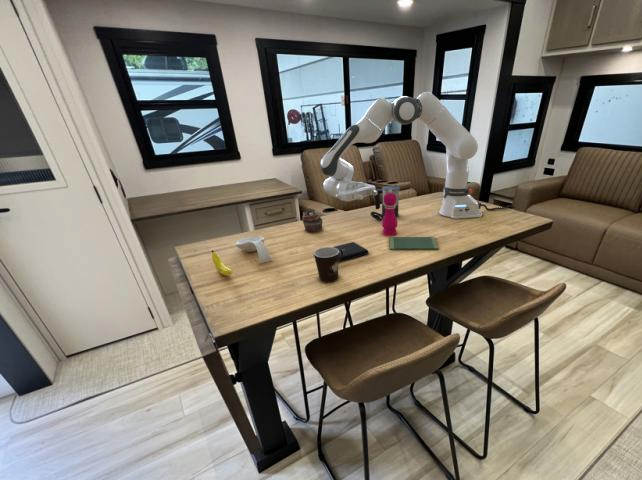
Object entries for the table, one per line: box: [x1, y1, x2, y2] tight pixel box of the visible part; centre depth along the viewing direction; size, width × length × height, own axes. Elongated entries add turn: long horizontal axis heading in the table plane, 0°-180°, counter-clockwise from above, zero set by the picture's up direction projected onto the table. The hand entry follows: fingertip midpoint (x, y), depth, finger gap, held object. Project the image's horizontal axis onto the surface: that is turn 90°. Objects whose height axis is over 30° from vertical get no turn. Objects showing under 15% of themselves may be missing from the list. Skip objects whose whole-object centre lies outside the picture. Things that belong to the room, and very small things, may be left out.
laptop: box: [332, 241, 370, 262], centre depth 129 cm, size 16×20×2 cm
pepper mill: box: [381, 190, 398, 237], centre depth 143 cm, size 7×7×20 cm
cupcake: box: [301, 208, 324, 234], centre depth 152 cm, size 10×10×10 cm
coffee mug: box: [313, 246, 343, 284], centre depth 110 cm, size 12×9×10 cm
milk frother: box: [370, 185, 401, 221], centre depth 165 cm, size 14×16×15 cm
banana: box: [211, 250, 233, 277], centre depth 115 cm, size 3×19×6 cm, turn 40°
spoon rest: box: [235, 236, 272, 264], centre depth 130 cm, size 24×12×7 cm, turn 36°
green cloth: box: [389, 236, 439, 251], centre depth 137 cm, size 20×13×1 cm, turn 88°
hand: (369, 195), depth 147 cm, fingers open, 8 cm apart
